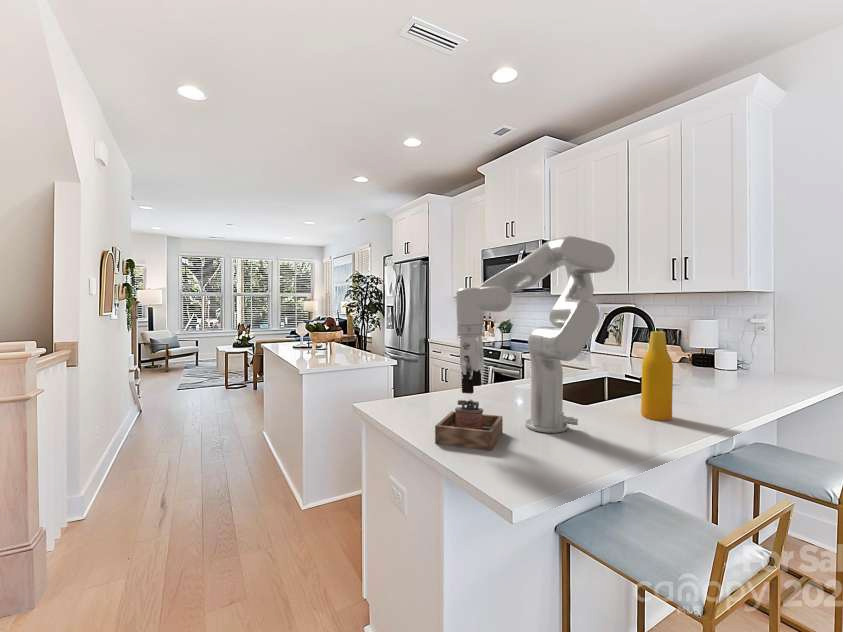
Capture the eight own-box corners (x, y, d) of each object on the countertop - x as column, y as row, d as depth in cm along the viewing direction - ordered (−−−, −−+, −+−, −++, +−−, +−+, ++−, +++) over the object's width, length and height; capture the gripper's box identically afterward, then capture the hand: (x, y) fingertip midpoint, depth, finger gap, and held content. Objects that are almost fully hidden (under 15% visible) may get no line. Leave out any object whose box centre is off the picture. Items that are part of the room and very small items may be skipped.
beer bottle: (678, 421, 136) (680, 333, 135) (649, 421, 136) (650, 333, 135) (662, 413, 145) (664, 330, 144) (635, 413, 146) (637, 330, 144)
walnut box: (502, 432, 126) (502, 416, 126) (491, 450, 111) (491, 432, 111) (451, 426, 132) (451, 411, 131) (435, 443, 117) (435, 425, 116)
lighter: (483, 433, 122) (483, 399, 121) (482, 437, 118) (482, 402, 118) (456, 431, 123) (455, 398, 123) (454, 435, 120) (454, 400, 119)
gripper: (476, 333, 110) (477, 397, 111) (489, 327, 127) (490, 383, 128) (449, 333, 113) (451, 395, 114) (465, 327, 129) (467, 382, 130)
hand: (472, 389), depth 121 cm, fingers open, 9 cm apart
